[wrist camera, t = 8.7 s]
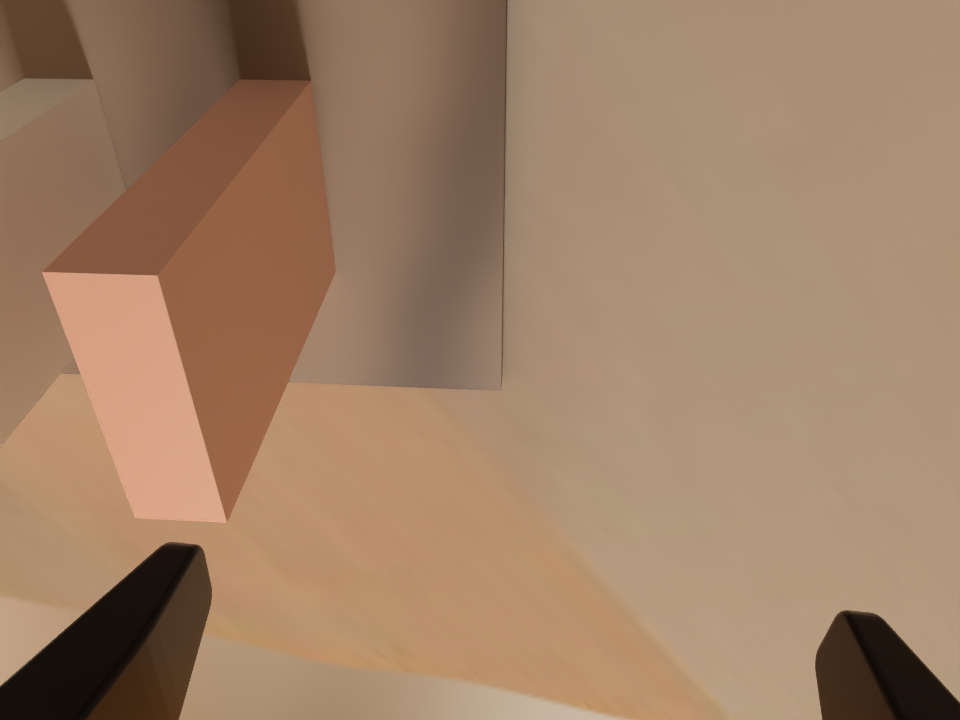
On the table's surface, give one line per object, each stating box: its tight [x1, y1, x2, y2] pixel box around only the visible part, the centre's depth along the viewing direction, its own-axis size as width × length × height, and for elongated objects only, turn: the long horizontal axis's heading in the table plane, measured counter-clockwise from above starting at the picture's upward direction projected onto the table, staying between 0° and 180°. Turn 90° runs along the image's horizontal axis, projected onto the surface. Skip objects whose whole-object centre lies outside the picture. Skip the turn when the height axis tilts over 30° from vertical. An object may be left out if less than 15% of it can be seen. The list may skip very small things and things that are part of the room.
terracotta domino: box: [42, 80, 336, 523], centre depth 16 cm, size 2×5×8 cm, turn 0°
